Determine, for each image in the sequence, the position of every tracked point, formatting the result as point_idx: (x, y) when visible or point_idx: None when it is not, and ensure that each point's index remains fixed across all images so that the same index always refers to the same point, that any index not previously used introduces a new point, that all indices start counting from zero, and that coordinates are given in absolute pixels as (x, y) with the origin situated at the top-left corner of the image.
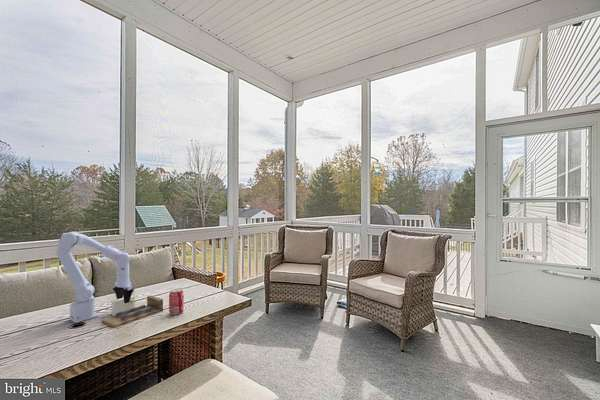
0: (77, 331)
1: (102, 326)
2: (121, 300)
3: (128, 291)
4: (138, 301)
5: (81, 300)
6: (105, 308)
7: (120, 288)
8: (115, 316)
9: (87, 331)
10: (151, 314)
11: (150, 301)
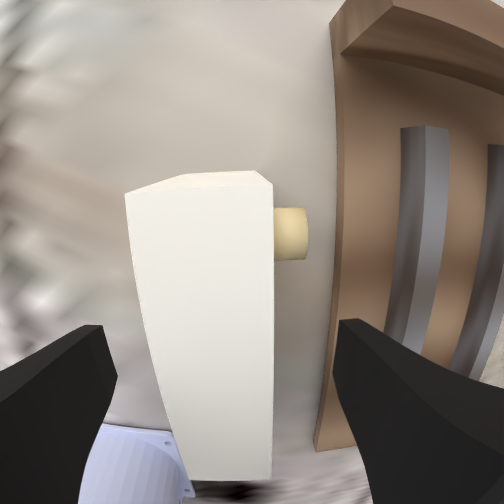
0: (321, 498)
1: None
2: (270, 416)
3: (456, 487)
4: (47, 50)
5: None
6: (22, 330)
7: (12, 502)
8: None
9: (366, 479)
10: None
11: (449, 51)
